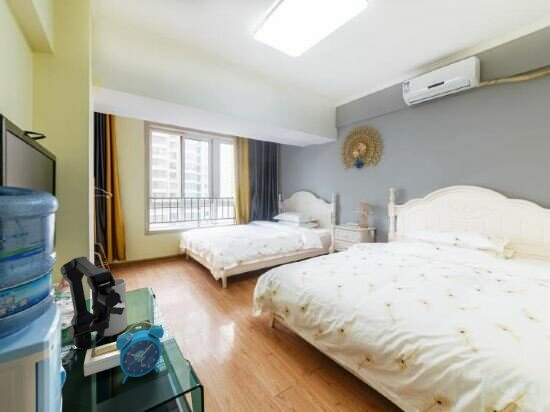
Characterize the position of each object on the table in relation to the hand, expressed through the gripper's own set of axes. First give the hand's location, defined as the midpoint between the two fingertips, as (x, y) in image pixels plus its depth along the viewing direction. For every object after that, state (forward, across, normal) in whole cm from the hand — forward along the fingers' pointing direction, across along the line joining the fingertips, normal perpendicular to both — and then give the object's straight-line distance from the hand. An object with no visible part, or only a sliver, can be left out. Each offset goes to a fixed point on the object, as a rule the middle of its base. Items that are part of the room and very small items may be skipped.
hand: (102, 335), depth 102 cm
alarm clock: (+11, -16, -14) cm, 24 cm away
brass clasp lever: (+6, -2, -3) cm, 7 cm away
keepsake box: (+11, -2, -2) cm, 11 cm away
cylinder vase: (+12, +25, -3) cm, 27 cm away
